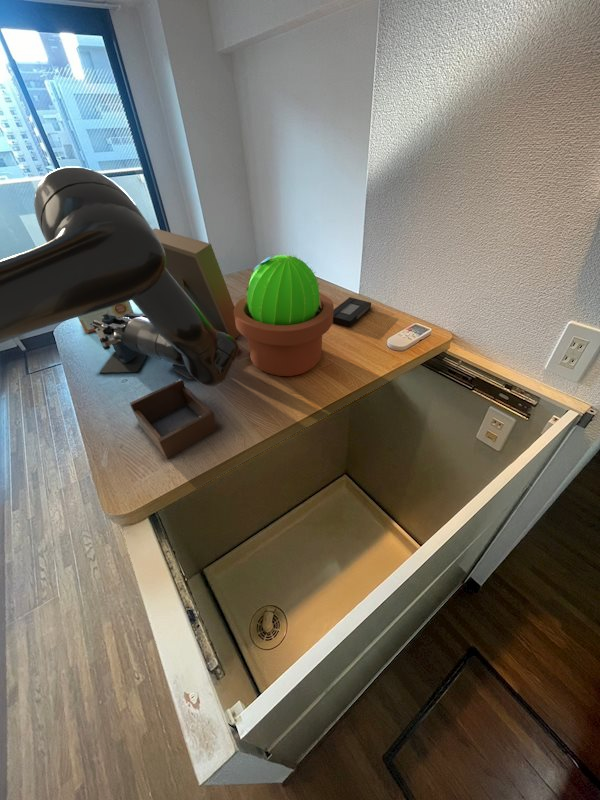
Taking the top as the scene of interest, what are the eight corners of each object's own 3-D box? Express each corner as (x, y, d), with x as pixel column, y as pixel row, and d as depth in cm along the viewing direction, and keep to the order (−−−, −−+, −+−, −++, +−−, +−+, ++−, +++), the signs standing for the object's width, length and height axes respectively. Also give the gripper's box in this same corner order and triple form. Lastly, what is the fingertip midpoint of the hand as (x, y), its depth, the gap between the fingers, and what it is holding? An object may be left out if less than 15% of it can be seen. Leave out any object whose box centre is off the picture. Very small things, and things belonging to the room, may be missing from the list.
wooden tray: (217, 428, 63) (211, 406, 59) (167, 458, 58) (156, 436, 54) (188, 400, 70) (181, 378, 66) (140, 425, 64) (129, 402, 60)
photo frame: (195, 312, 101) (174, 223, 85) (244, 334, 91) (230, 237, 74) (153, 331, 93) (120, 236, 76) (201, 358, 82) (174, 254, 66)
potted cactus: (345, 349, 84) (354, 246, 68) (298, 395, 71) (296, 281, 54) (277, 327, 94) (270, 232, 77) (224, 364, 80) (202, 258, 63)
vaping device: (117, 362, 80) (96, 316, 72) (132, 352, 83) (114, 307, 76) (125, 364, 79) (105, 317, 71) (140, 353, 83) (123, 308, 75)
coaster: (100, 373, 78) (99, 372, 77) (115, 353, 84) (114, 351, 84) (137, 373, 78) (137, 371, 77) (150, 352, 84) (149, 351, 84)
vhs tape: (370, 308, 102) (371, 302, 100) (349, 327, 93) (350, 321, 92) (349, 303, 105) (349, 297, 104) (326, 320, 96) (327, 314, 95)
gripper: (173, 309, 71) (120, 295, 77) (119, 338, 62) (64, 319, 68) (182, 339, 76) (131, 323, 82) (133, 370, 67) (80, 350, 73)
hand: (101, 322), depth 75 cm, fingers closed on vaping device, 2 cm apart
